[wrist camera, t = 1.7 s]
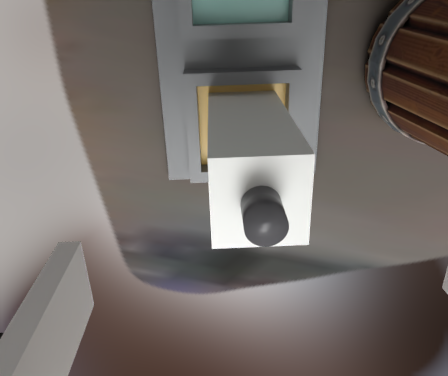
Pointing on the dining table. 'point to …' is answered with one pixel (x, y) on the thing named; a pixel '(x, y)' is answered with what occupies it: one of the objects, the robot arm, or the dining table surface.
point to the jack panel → (235, 66)
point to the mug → (412, 71)
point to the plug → (257, 172)
